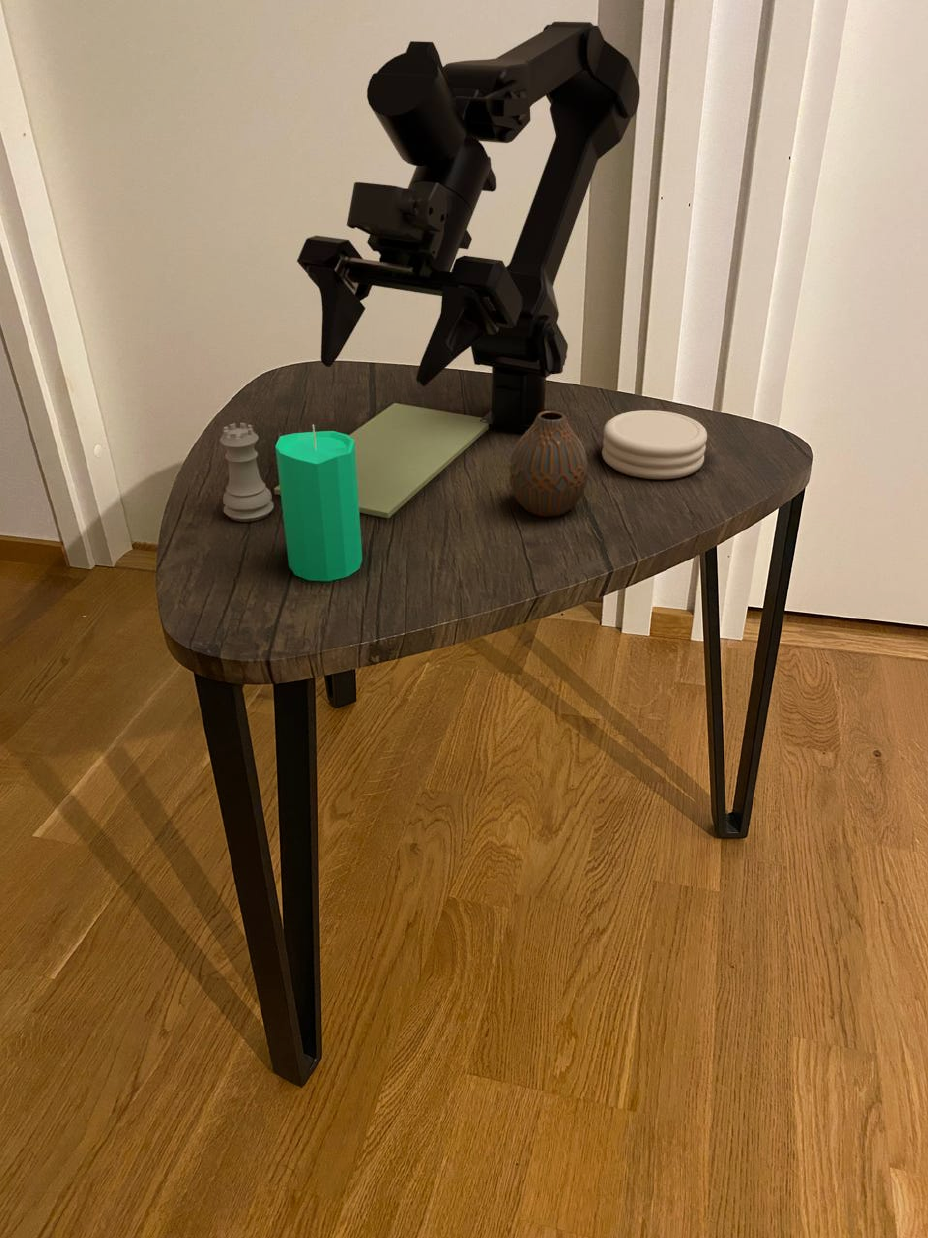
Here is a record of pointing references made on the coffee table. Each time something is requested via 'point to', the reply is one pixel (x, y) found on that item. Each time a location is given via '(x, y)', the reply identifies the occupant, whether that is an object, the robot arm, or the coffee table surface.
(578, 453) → the vase
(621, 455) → the coaster
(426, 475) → the pale green rectangular board
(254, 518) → the rook chess piece
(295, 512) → the candle
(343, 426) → the coffee table surface
